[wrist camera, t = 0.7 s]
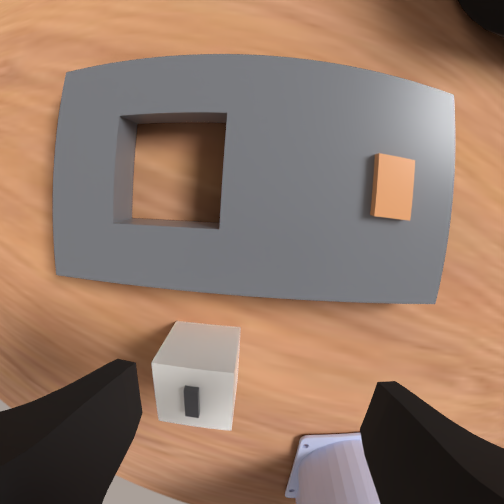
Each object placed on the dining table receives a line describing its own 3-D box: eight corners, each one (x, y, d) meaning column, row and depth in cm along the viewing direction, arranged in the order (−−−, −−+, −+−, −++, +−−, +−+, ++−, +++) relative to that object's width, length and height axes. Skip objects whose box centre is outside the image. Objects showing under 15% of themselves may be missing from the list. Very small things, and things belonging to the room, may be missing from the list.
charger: (237, 379, 19) (230, 435, 14) (178, 372, 19) (156, 425, 14) (240, 326, 18) (233, 377, 13) (176, 320, 18) (149, 366, 13)
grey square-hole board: (416, 290, 17) (440, 307, 14) (77, 264, 18) (50, 277, 15) (433, 103, 15) (459, 92, 12) (86, 82, 15) (60, 69, 12)
